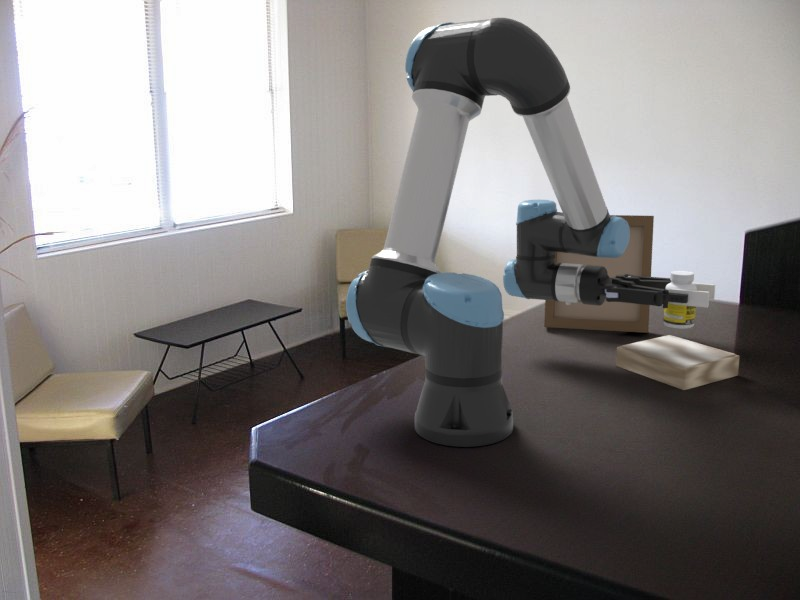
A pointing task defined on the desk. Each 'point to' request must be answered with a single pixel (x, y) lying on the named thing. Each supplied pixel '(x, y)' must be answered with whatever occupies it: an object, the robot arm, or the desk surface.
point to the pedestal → (677, 361)
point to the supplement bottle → (680, 313)
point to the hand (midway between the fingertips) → (711, 295)
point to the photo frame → (629, 262)
